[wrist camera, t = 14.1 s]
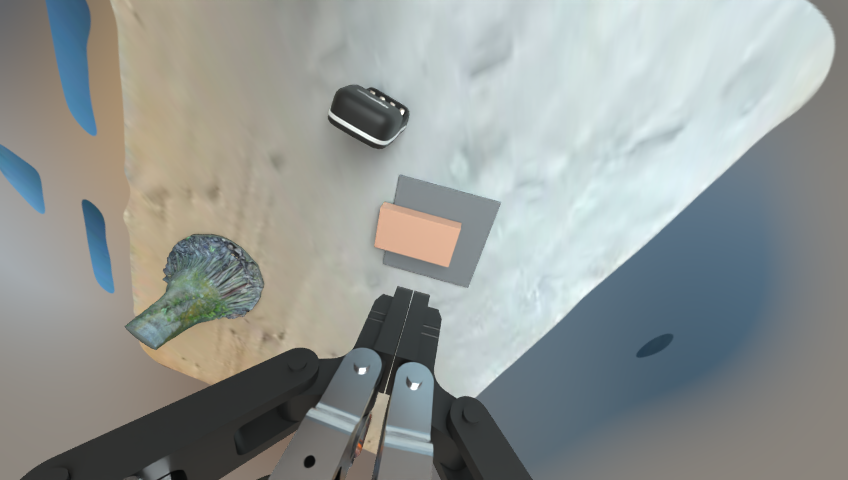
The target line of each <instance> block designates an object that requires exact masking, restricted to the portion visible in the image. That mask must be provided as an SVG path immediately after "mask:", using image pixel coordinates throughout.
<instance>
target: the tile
mask: <svg viewBox="0 0 848 480" xmlns="http://www.w3.org/2000/svg"><path fill="white" fill-rule="evenodd" d="M460 230H461V223H459V222H456V221H452V220H448V219H445V218H441V217H438V216H434V215H430V214H427V213H423V212H419V211H416V210H412V209H409V208H405V207H401V206H398V205H394V204H390V203H387V202H384V203H383V205H382V206H381V208H380V214H379V220H378V227H377V233H376V239H375V245H374V247H377V248H381V249H384V250H388V251H391V252H395V253H398V254H402V255H406V256H409V257H413V258H416V259H420V260H423V261H427V262H431V263H434V264H438V265H441V266H445V267H449V264H450V261H451V257H452V254H453V251H454V248H455V245H456V242H457V239H458V236H459V233H460Z"/></svg>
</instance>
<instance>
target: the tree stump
mask: <svg viewBox="0 0 848 480" xmlns="http://www.w3.org/2000/svg"><path fill="white" fill-rule="evenodd" d="M232 253H233V254H234V255H235V256H232V255H231V254H232ZM236 257H238V258H236ZM167 262H168V263H167V264H166V268H165V269H163V272H164V273H165V274H166V277H165V278H163V280H164V281H165V282H167V283H168V285H167V288H166V293H165V294H164V295H163V296H162V297H161V298H160V299H159V300H158V301H156V302H155V303H154V304H152V305H151V306H150V307H149V308H148V309H146V310H145V311H144V312H143V313H141V314H140V315H138V316H137V317H135V319H133V320H132V321H131V322H129V323H128V324H127V325H126V326H125V328H126V329H127V330H128V331H129V332H130V333H131V334H132V335H133V336H135V337H136V338H137V339H138V340H140V341H141V342H142V343H144V344H145V345H147V346H148V347H150V348H152V349H154V350H157V349H158V348H159V347H161V346H162V345H163V344H165V343H166V342H167V341H169V340H171V339H173V338H175V337H176V336H177V335H179V334H180V333H182V332H183V331H185V330H187V329H188V328H190V327H192V326H194V325H196V324H197V323H201V322H207V321H210V320H214V319H216V318H218V319H220V318H222V317H227V318H228V319H231V318H232V319H235V318H236V317H239V316H240V317H243V316H245V314H246V312H247V311H248V312H249V311H250V310H252V309H253V307H254V306H255V304H256V303H257V302H258V300H259V299H260V297H261V291H262V289H263V287H264V281H263V278H262V275H261V272H260V269H259V266H258V264H257V263H256V262H255V261H254V260H253V259H252V258H251V257H250V256H249V255H248V254H247V253H246V252H245V250H244V249H243V248H242V247H240V246H239V245H237V244H235V243H234V242H232V241H231V240H229V239H227V238H224V237H221V236H217V235H213V234H194V235H191V236H189V237H188V238H186V239H184V240H182V241H180V242H178V243H177V244H176V245H175V246H174V247H173V249H172V251H171V253H170V254H169V257H167Z"/></svg>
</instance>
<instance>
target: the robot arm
mask: <svg viewBox="0 0 848 480" xmlns="http://www.w3.org/2000/svg"><path fill="white" fill-rule="evenodd" d="M412 293H413V290H410V289H406V288H403V287H399V286H398V287H397V289H396V292H395V294H394V297H392V296H388V295H385V294H383V295H381V296H380V297H379V298H378V299H376V300H375V302H374V304H373V306H372V308H371V311H370V313H369V315H368V318H367V320H366V322H365V324H364V326H363V328H362V331H361V333H360V335H359V337H358V340H357V342H356V344H355V346H354V348H353V349H352V350H351V351H350V352H349V353H347V354H346V355H344V356H342V357H339V358H332V359H318V357H317V355H316V354H315V353H314V352H313V351H312V350H310V349H307V348H295V349H291V350H289V351H286V352H284V353H282V354H280V355H278V356H275V357H273V358H271V359H269V360H267V361H264V362H262V363H260V364H258V365H256V366H253V367H251V368H249V369H247V370H245V371H242V372H240V373H238V374H236V375H234V376H231V377H229V378H227V379H225V380H222V381H220V382H218V383H216V384H214V385H211V386H209V387H207V388H205V389H203V390H201V391H198V392H196V393H194V394H192V395H190V396H188V397H185V398H183V399H181V400H179V401H176V402H175V403H172V404H170V405H167V406H165V407H163V408H161V409H159V410H156V411H154V412H152V413H150V414H148V415H145V416H143V417H141V418H139V419H137V420H134V421H132V422H130V423H128V424H125V425H123V426H121V427H119V428H117V429H114V430H112V431H110V432H108V433H106V434H104V435H101V436H99V437H97V438H95V439H92V440H90V441H88V442H86V443H84V444H82V445H79V446H77V447H75V448H73V449H70V450H68V451H66V452H64V453H62V454H59V455H57V456H55V457H53V458H51V459H49V460H47V461H45V462H43V463H41V464H40V465H38V466H37V467H35V468H34V469H32V470H31V471H30V472H28V473H27V474H26V475H25V476H23V477H22V478H21V479H20V480H219V479H220V478H222V477H224V476H225V475H227V474H228V473H230V472H231V471H233V470H235V469H236V468H238V467H239V466H241V465H242V464H244V463H246V462H247V461H249V460H250V459H252V458H254V457H255V456H257V455H258V454H260V453H261V452H263V451H265V450H266V449H268V448H269V447H271V446H272V445H274V444H276V443H277V442H279V441H280V440H282V439H284V438H285V437H287V436H288V435H290V434H291V433H293V432H294V431H296V430H297V431H296V433H295V434H294V436H293V438H292V440H291V441H290V443H289V445H288V446H287V448H286V450H285V452H284V453H283V455H282V457H281V459H280V460H279V462H278V464H277V465H276V467H275V469H274V470H273V472H272V474H271V475H268V476H264V477H262V478H260V479H258V480H345V478H346V475H347V472H348V469H349V466H350V463H351V461H352V458H353V456H354V453H355V451H356V448H357V446H358V443H359V441H360V438H361V436H362V433H363V431H364V428H365V426H366V423H367V421H368V418H369V416H370V413H371V410H372V409H373V407H374V404H375V401H376V398H377V395H378V392H380V393H383V394H384V390H385V387H386V384H387V380H388V377H389V374H390V370H391V367H392V363H393V360H394V363H393V367H392V370H391V374H390V378H389V382H388V385H387V389H386V393H385V394H387V395H390V397H389V401H388V404H387V408H386V412H385V415H384V420H383V425H382V430H381V435H380V440H379V445H378V450H377V456H376V460H375V465H374V470H373V475H372V479H371V480H432V466H433V464H434V466H435V468H436V470H437V472H438V474H439V477H440V479H441V480H533V479H532V478H531V477H530V475H529V473H528V472H527V471H526V469H525V467H524V466H523V464H522V463H521V461H520V460H519V458H518V457H517V455H516V453H515V452H514V451H513V449H512V447H511V446H510V444H509V443H508V441H507V440H506V438H505V437H504V435H503V434H502V432H501V430H500V429H499V427H498V426H497V424H496V423H495V421H494V420H493V418H492V417H491V415H490V414H489V412H488V411H487V409H486V408H485V407H484V405H483V404H482V403H481V402H480V401H478V400H477V399H475V398H472V397H469V396H463V397H459V398H455V397H454V396H452V395H451V394H449V393H448V392H446V391H445V390H444V389H442V388H441V386H440V385H439V384H438V382H437V381H436V378H435V375H434V365H435V359H436V352H437V346H438V338H439V333H440V327H441V320H442V319H441V316H440V313H439V310H438V309H434V308H431V307H427V306H428V302H429V297H430V295H428V294H424V293H421V292H417V291H414V294H413V298H412V301H411V297H412ZM410 301H411V304H410ZM409 304H410V308H409ZM408 308H409V311H408ZM407 312H408V315H407ZM406 316H407V318H406ZM405 319H406V321H405ZM404 323H405V325H404ZM403 326H404V328H403ZM402 330H403V332H402ZM401 333H402V335H401ZM400 336H401V338H400ZM399 340H400V342H399ZM398 343H399V345H398ZM397 347H398V348H397ZM396 350H397V352H396ZM395 353H396V355H395ZM394 357H395V359H394Z"/></svg>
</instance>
